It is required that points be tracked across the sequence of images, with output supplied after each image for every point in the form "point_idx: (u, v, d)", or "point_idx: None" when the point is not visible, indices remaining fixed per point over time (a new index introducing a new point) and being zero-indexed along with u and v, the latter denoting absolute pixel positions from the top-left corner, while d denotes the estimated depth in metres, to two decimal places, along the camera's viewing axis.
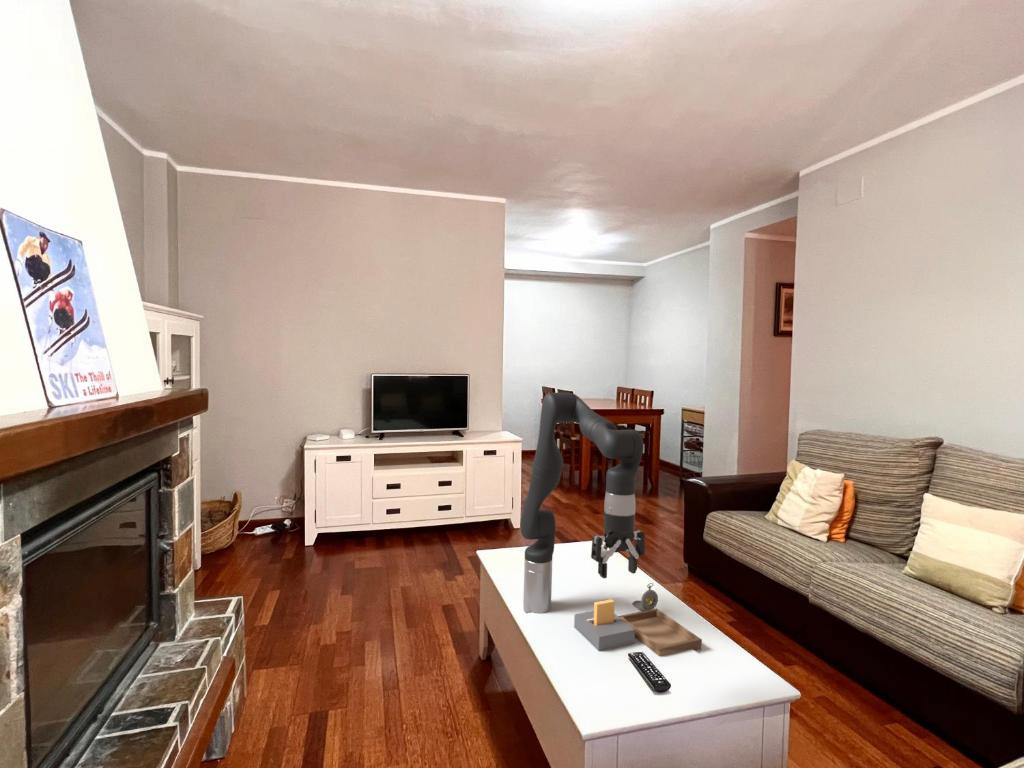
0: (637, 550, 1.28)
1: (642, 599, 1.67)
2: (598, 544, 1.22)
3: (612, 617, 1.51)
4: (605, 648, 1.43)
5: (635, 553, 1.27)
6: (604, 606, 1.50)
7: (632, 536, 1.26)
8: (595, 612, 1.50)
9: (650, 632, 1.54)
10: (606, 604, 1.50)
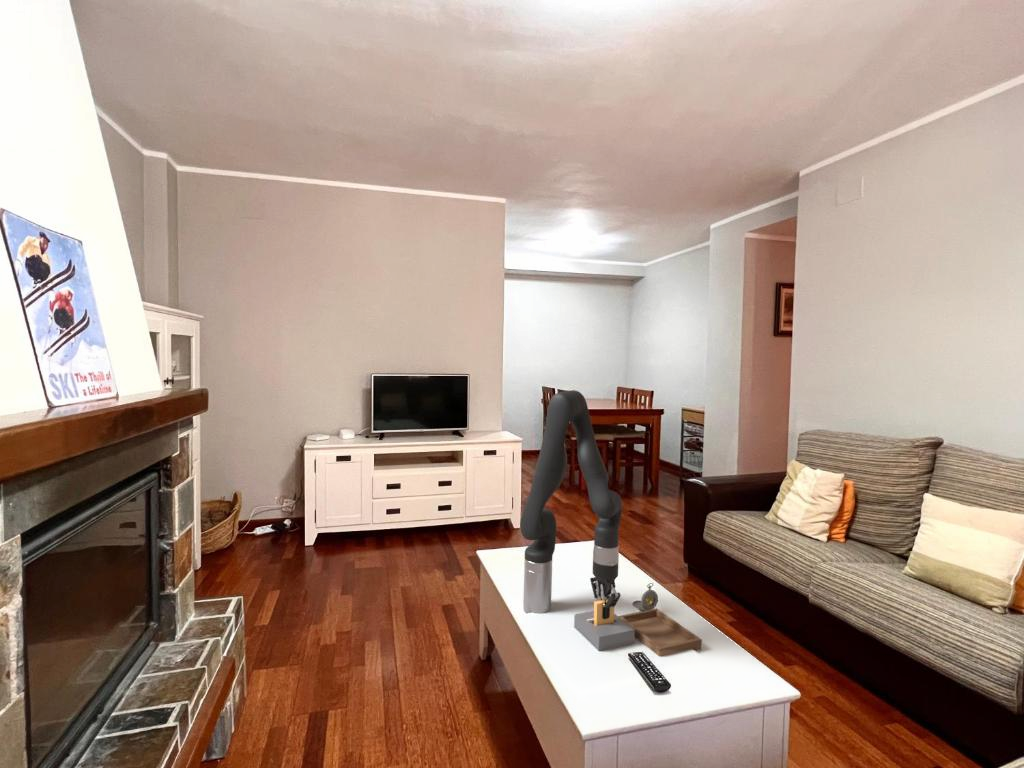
0: None
1: (642, 599, 1.67)
2: None
3: (612, 616, 1.51)
4: (605, 648, 1.43)
5: None
6: None
7: None
8: (595, 611, 1.50)
9: (650, 632, 1.54)
10: None
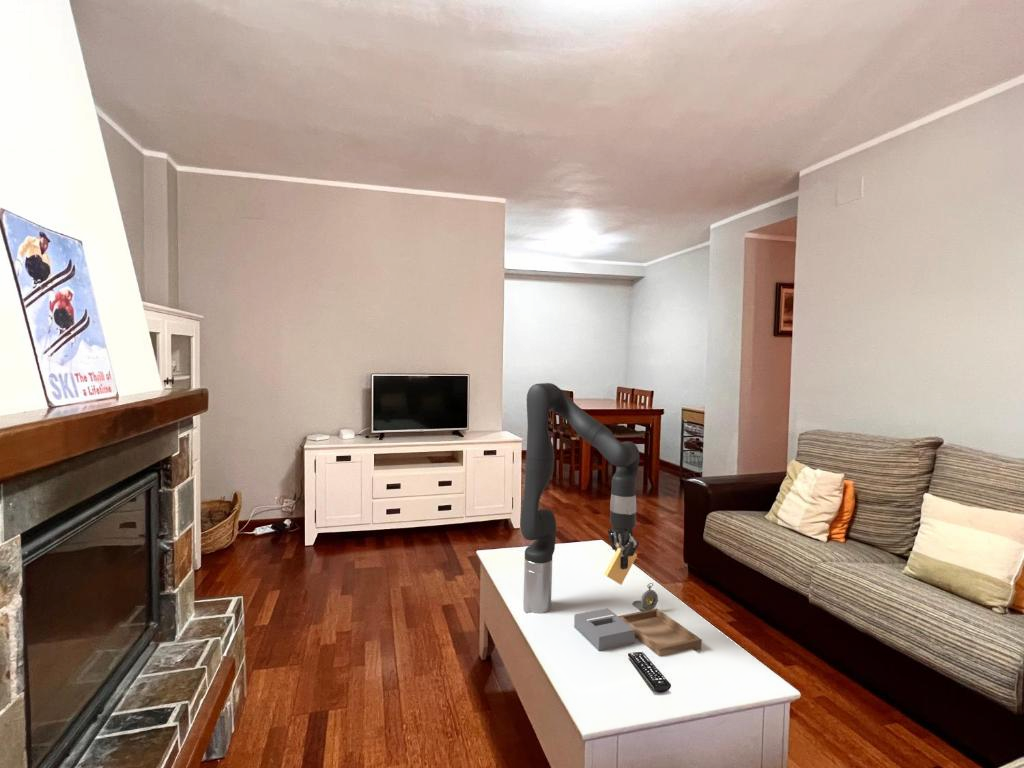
0: None
1: (642, 599, 1.67)
2: None
3: (628, 568, 1.51)
4: (605, 648, 1.43)
5: None
6: None
7: None
8: (617, 552, 1.50)
9: (650, 632, 1.54)
10: None
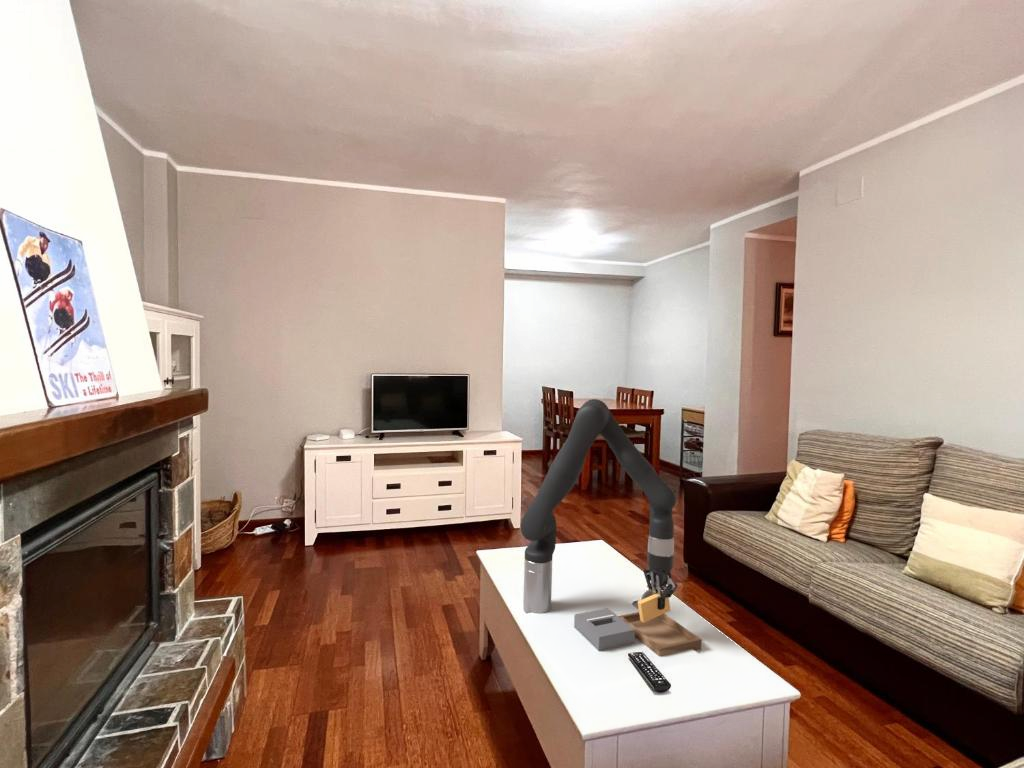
0: None
1: None
2: None
3: (657, 614, 1.52)
4: (605, 648, 1.43)
5: None
6: (666, 601, 1.53)
7: None
8: None
9: (650, 632, 1.54)
10: (668, 602, 1.53)
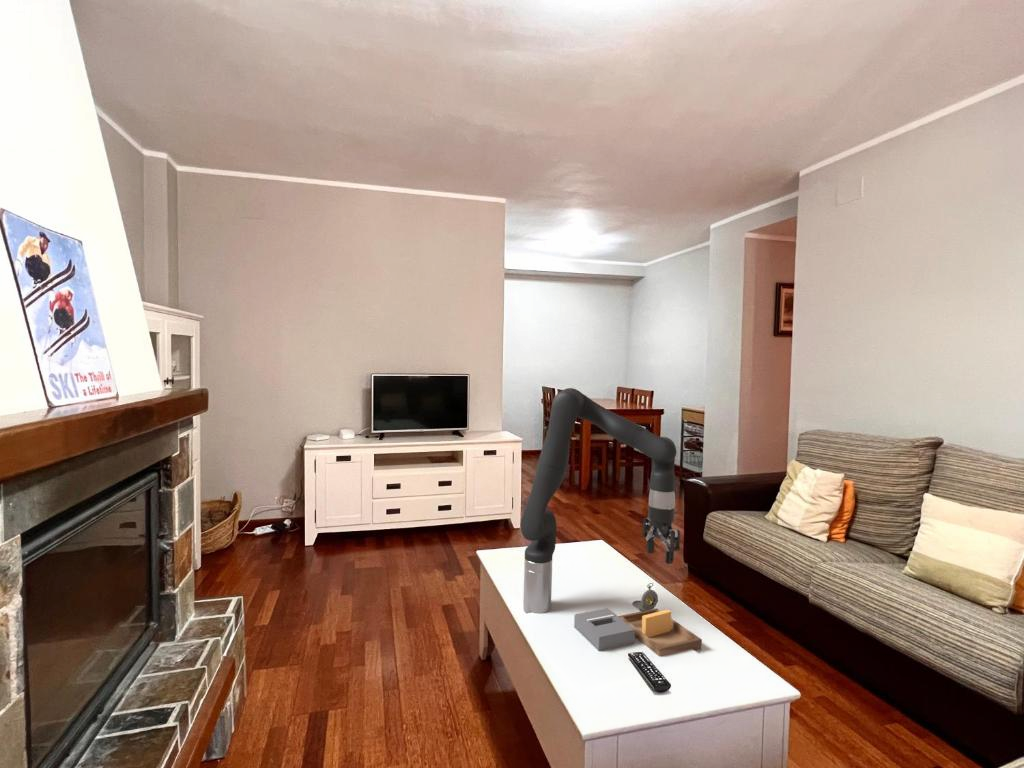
0: (647, 533, 1.58)
1: (642, 599, 1.67)
2: None
3: (658, 632, 1.52)
4: (605, 648, 1.43)
5: None
6: (668, 620, 1.54)
7: None
8: (662, 612, 1.54)
9: None
10: (669, 622, 1.54)
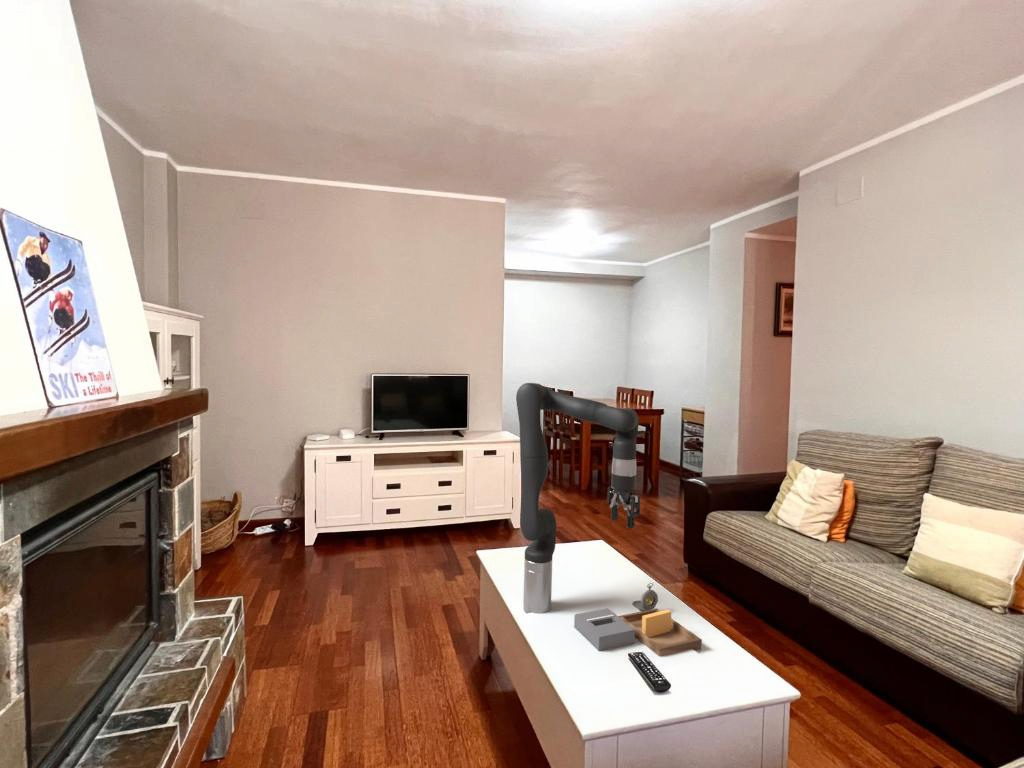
0: (611, 501, 1.64)
1: (642, 599, 1.67)
2: None
3: (658, 632, 1.52)
4: (605, 648, 1.43)
5: None
6: (668, 620, 1.54)
7: None
8: (662, 612, 1.54)
9: None
10: (669, 622, 1.54)
